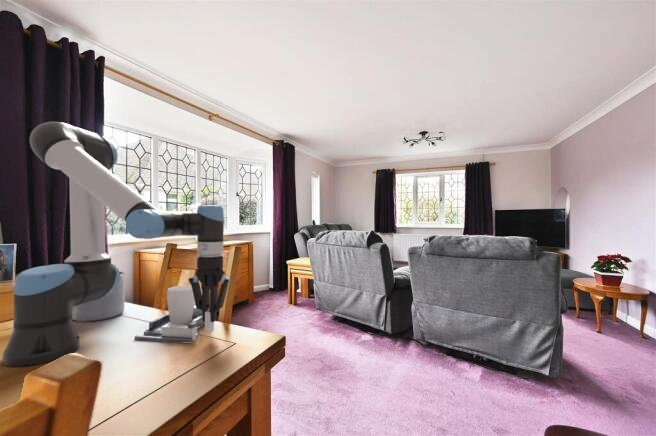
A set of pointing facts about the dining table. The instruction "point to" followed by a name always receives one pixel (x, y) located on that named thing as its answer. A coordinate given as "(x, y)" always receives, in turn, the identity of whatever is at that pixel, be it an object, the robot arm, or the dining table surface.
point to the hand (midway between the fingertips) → (209, 331)
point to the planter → (102, 305)
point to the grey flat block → (180, 331)
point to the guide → (151, 338)
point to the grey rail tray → (163, 320)
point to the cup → (180, 304)
